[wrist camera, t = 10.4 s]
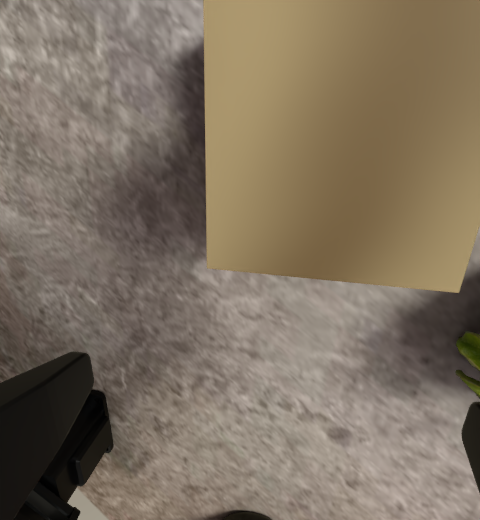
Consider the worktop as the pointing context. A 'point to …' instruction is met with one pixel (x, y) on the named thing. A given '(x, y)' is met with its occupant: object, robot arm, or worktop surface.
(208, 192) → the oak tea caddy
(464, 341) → the passion flower
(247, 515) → the supplement bottle
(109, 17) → the worktop surface
